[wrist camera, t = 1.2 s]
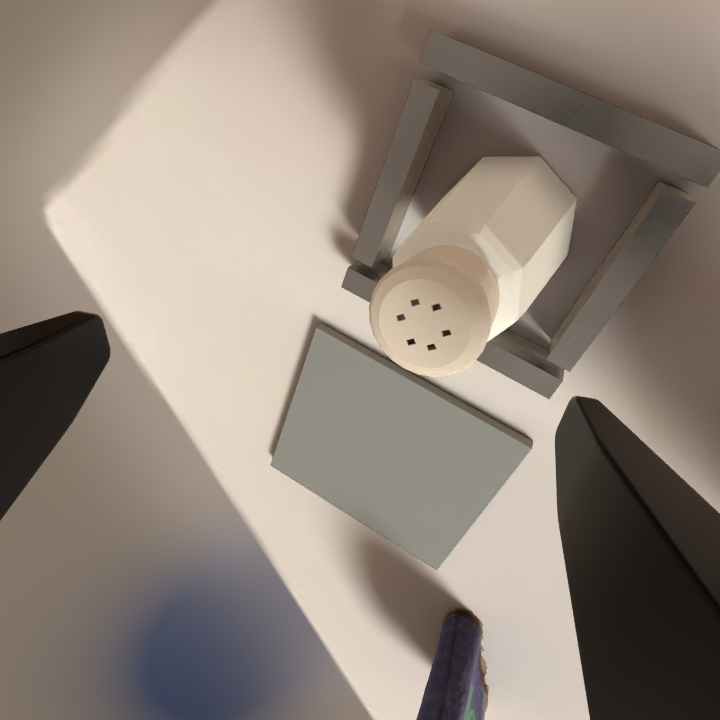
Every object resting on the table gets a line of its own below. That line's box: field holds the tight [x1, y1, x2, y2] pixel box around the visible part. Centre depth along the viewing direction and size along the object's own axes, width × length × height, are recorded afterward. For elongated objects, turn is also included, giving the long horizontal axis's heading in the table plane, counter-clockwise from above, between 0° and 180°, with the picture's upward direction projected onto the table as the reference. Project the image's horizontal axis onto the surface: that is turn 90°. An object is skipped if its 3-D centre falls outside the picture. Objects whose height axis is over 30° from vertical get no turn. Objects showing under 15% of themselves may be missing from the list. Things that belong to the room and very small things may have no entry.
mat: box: [271, 323, 533, 570], centre depth 27 cm, size 12×11×1 cm
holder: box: [341, 30, 720, 399], centre depth 19 cm, size 10×10×2 cm
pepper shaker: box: [369, 156, 577, 377], centre depth 15 cm, size 5×5×11 cm
